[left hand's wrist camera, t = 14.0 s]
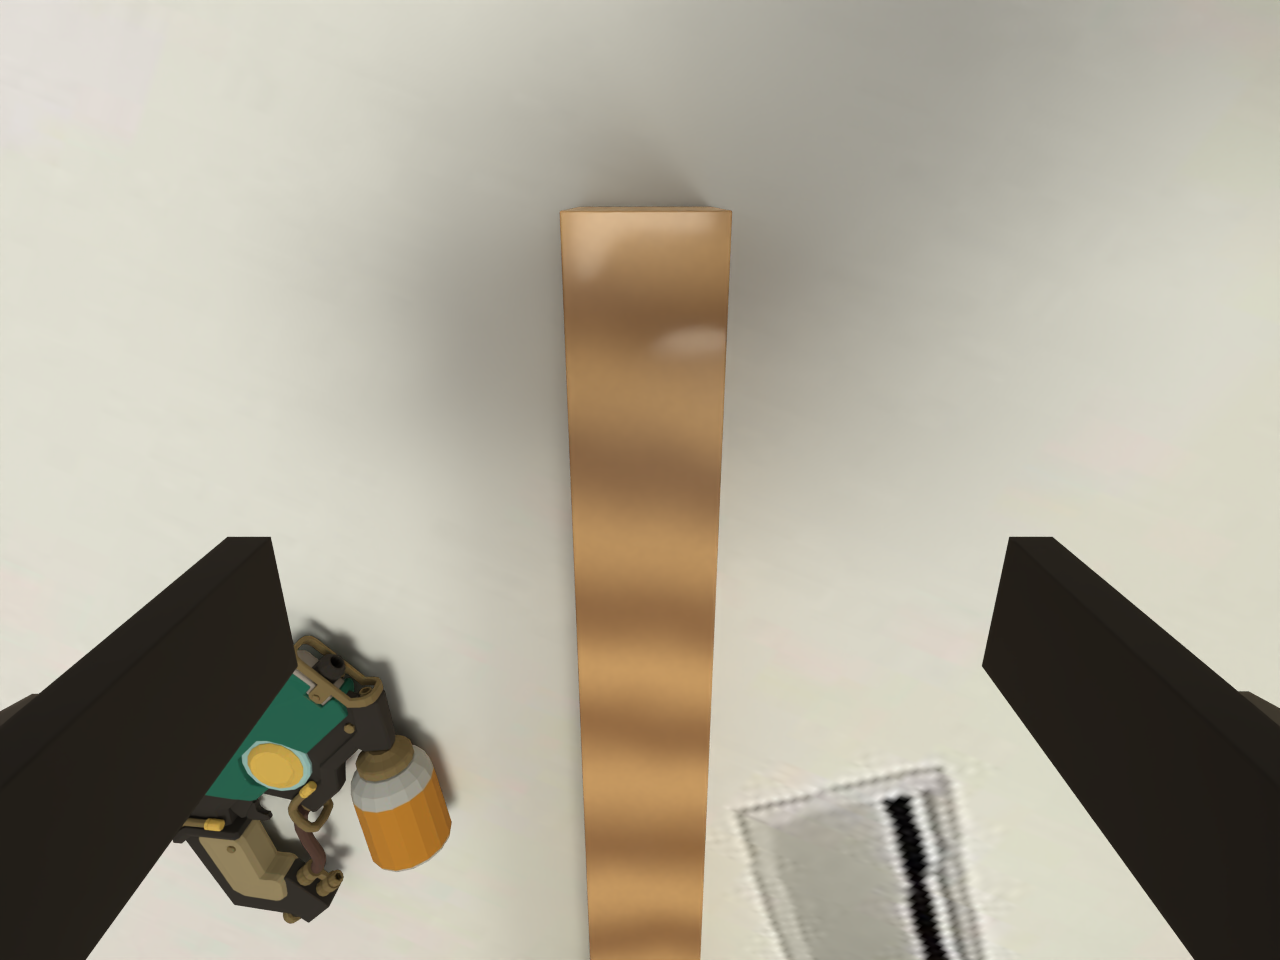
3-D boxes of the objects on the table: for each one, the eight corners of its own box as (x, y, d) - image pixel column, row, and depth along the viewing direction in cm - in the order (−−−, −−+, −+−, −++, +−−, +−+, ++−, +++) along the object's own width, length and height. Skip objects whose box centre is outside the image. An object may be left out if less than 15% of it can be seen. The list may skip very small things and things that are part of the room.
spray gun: (285, 897, 44) (115, 719, 40) (511, 810, 40) (348, 602, 36) (245, 966, 40) (50, 777, 36) (491, 878, 36) (305, 653, 32)
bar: (578, 206, 29) (559, 210, 22) (711, 206, 29) (732, 210, 22) (610, 1230, 57) (606, 1367, 50) (677, 1230, 57) (682, 1368, 50)
